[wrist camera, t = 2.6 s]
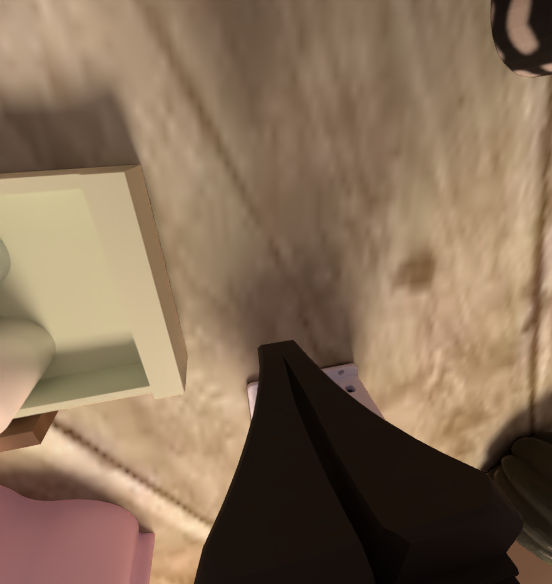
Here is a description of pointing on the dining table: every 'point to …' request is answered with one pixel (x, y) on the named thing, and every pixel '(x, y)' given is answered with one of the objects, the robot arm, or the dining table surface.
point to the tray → (91, 285)
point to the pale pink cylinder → (21, 362)
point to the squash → (530, 490)
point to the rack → (26, 431)
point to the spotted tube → (524, 35)
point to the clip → (71, 542)
